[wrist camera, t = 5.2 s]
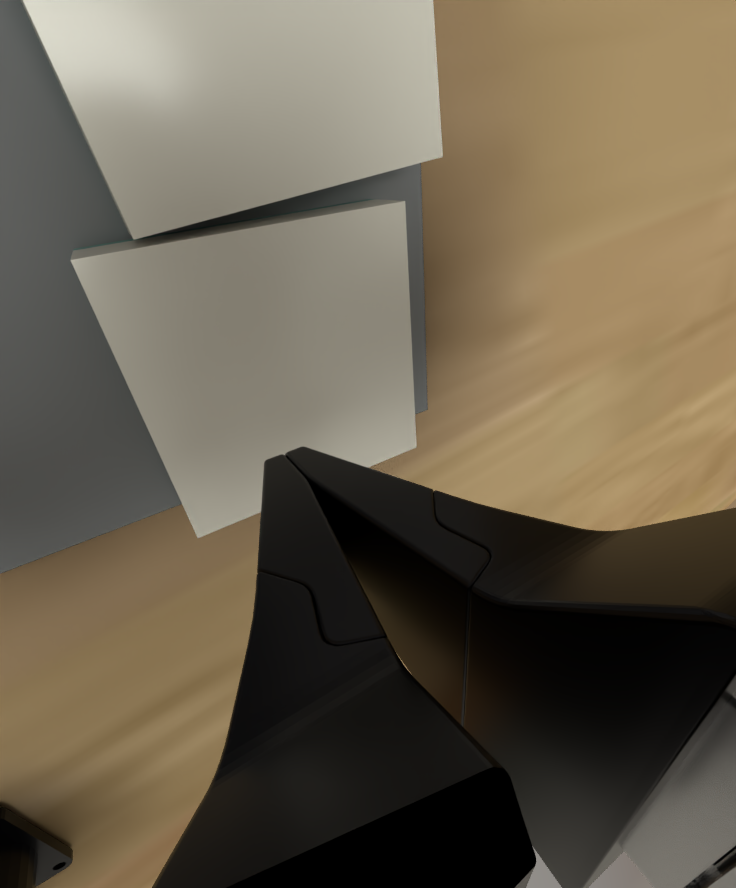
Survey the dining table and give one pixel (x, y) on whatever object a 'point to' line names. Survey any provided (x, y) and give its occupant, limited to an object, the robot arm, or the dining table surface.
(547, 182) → the dining table surface
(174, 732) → the dining table surface
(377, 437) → the tile
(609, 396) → the dining table surface
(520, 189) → the dining table surface
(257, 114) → the flat tile
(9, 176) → the mat
